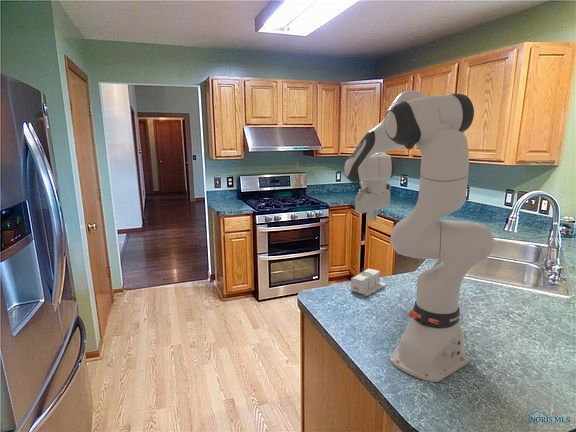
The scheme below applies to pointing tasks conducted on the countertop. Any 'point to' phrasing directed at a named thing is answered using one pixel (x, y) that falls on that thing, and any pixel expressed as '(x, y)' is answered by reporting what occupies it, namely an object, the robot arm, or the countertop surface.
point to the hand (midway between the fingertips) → (372, 220)
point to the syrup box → (365, 281)
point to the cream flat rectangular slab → (374, 288)
